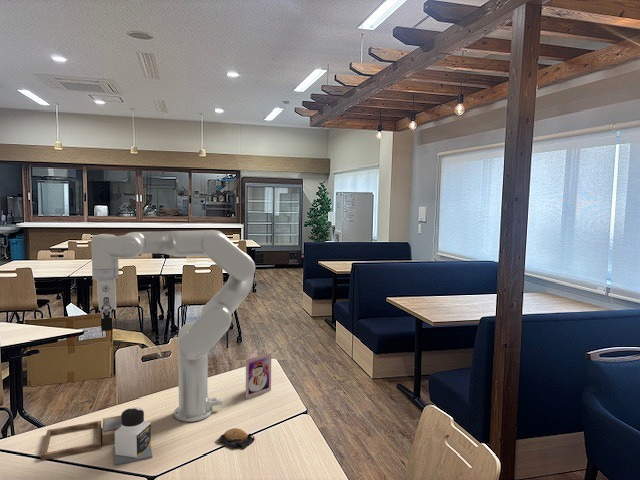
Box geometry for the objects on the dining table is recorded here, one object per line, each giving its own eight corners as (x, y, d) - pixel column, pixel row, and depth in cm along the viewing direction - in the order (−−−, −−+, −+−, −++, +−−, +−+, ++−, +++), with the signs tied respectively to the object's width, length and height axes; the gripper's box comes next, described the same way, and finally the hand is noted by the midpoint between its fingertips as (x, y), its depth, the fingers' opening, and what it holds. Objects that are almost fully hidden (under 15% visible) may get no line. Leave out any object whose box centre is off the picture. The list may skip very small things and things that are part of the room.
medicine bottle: (137, 458, 127) (136, 417, 126) (114, 455, 128) (113, 415, 127) (151, 444, 134) (150, 406, 133) (129, 442, 135) (128, 403, 134)
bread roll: (212, 445, 137) (212, 433, 136) (229, 431, 144) (229, 420, 144) (242, 453, 132) (242, 441, 132) (257, 439, 140) (257, 428, 140)
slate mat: (149, 439, 138) (149, 438, 138) (152, 457, 129) (152, 455, 128) (113, 447, 133) (113, 445, 133) (114, 465, 124) (113, 463, 124)
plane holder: (136, 418, 150) (136, 401, 150) (139, 441, 137) (138, 422, 136) (47, 434, 140) (46, 415, 139) (40, 460, 126) (40, 440, 125)
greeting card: (247, 400, 165) (247, 360, 164) (236, 393, 171) (236, 354, 169) (272, 391, 173) (272, 353, 172) (261, 385, 179) (261, 348, 177)
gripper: (119, 277, 136) (120, 332, 138) (118, 268, 152) (119, 318, 154) (91, 279, 133) (93, 335, 135) (93, 269, 149) (94, 320, 150)
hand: (107, 326), depth 144 cm, fingers open, 9 cm apart
